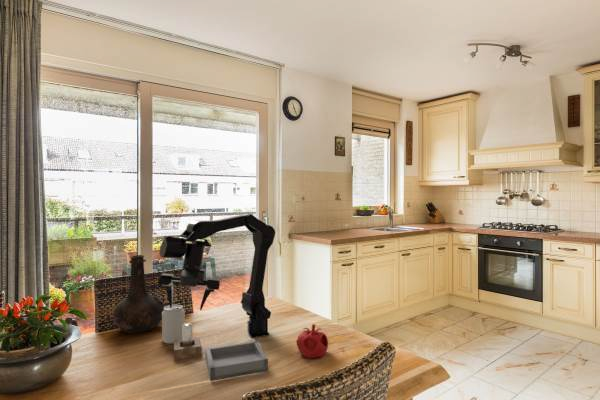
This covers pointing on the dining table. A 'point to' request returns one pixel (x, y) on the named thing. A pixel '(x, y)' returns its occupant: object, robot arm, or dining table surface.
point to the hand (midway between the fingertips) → (185, 308)
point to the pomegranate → (312, 343)
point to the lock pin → (187, 334)
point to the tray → (235, 360)
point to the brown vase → (138, 303)
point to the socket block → (187, 349)
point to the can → (172, 323)
